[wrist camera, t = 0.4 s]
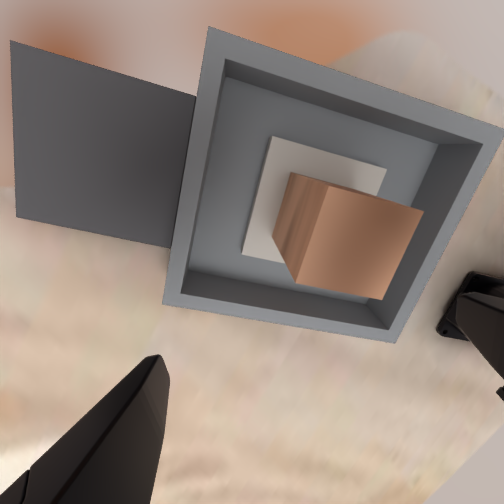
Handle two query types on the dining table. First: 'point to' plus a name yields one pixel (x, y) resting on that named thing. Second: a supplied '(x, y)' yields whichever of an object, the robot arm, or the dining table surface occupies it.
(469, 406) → the dining table surface
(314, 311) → the crate
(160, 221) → the mat
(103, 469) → the robot arm
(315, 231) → the block
